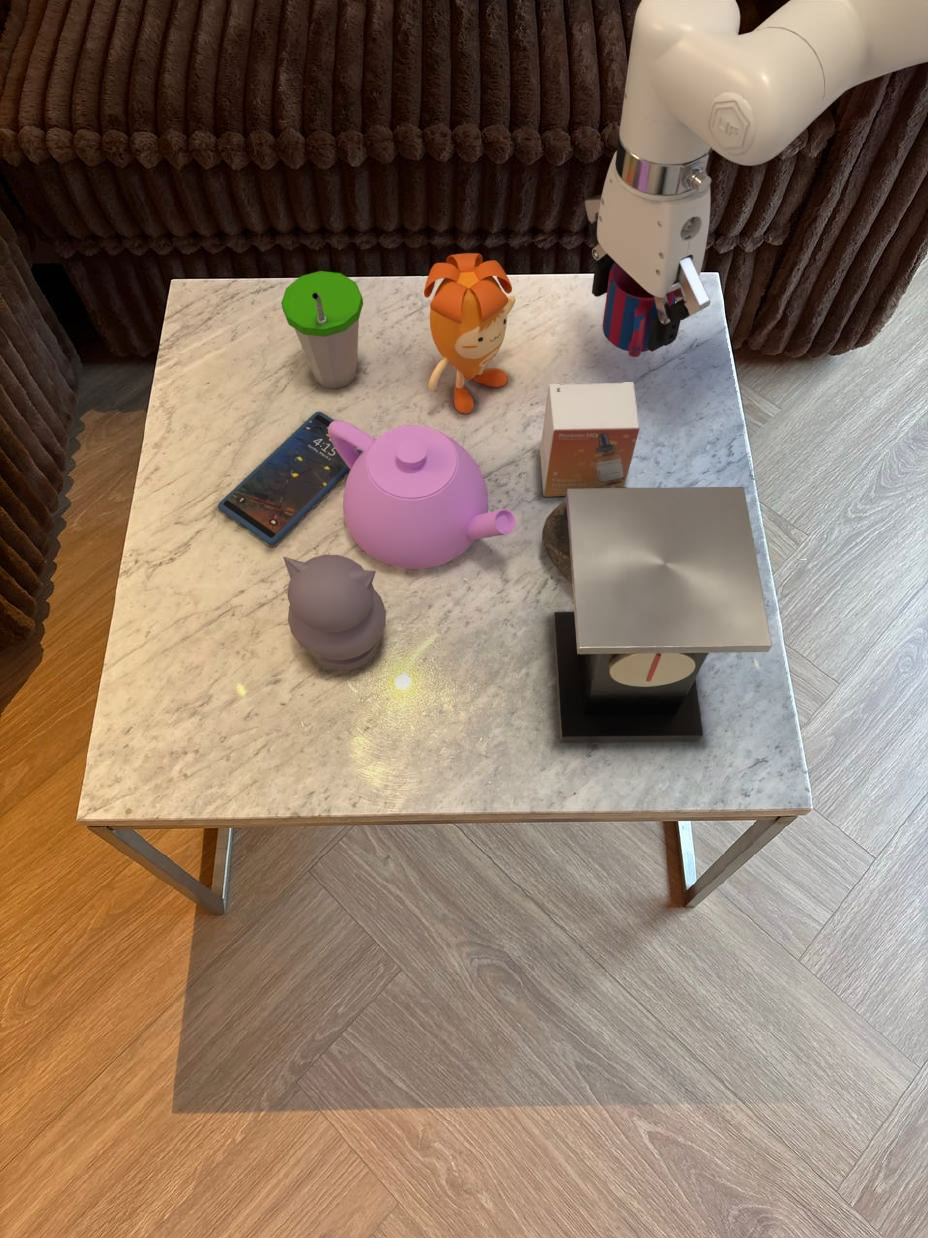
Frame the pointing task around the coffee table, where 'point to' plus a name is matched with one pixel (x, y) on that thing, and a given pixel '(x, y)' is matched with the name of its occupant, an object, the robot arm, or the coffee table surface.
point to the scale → (652, 608)
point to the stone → (560, 538)
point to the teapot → (414, 495)
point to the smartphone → (287, 482)
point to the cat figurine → (335, 610)
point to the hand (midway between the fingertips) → (633, 315)
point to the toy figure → (468, 321)
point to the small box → (587, 436)
